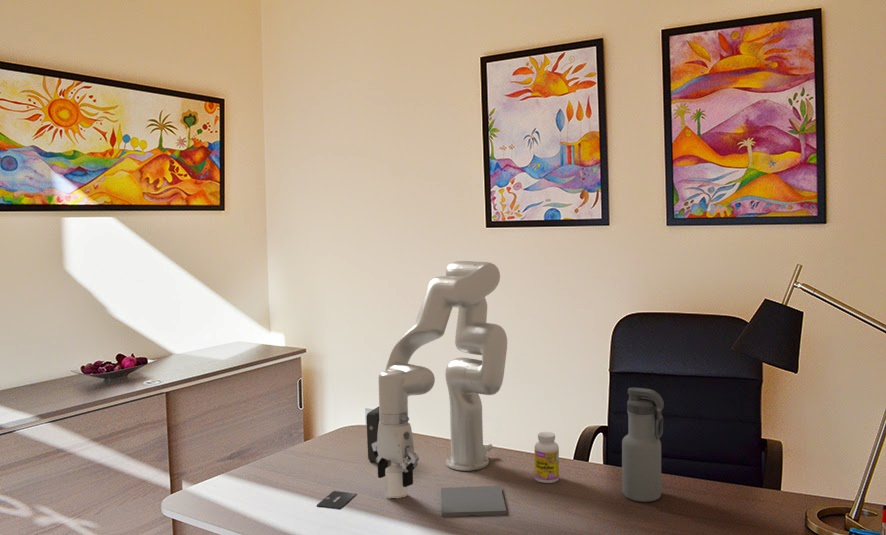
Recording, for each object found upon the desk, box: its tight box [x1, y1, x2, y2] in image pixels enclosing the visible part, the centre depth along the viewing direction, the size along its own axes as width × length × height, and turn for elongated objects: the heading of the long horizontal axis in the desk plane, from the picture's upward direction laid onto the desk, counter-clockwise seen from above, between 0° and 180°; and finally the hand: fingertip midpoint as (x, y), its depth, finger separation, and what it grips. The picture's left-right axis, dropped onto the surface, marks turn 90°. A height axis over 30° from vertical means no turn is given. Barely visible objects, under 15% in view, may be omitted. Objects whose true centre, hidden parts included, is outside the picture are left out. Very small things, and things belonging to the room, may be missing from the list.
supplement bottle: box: [534, 431, 560, 484], centre depth 204 cm, size 7×7×13 cm
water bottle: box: [621, 387, 665, 503], centre depth 190 cm, size 10×10×28 cm
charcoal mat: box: [440, 485, 507, 517], centre depth 190 cm, size 16×16×1 cm
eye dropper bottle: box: [385, 461, 408, 499], centre depth 195 cm, size 4×6×12 cm
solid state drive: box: [316, 490, 357, 510], centre depth 194 cm, size 7×10×1 cm
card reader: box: [365, 406, 380, 463], centre depth 225 cm, size 9×4×15 cm, turn 159°
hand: (395, 480), depth 195 cm, fingers open, 9 cm apart
